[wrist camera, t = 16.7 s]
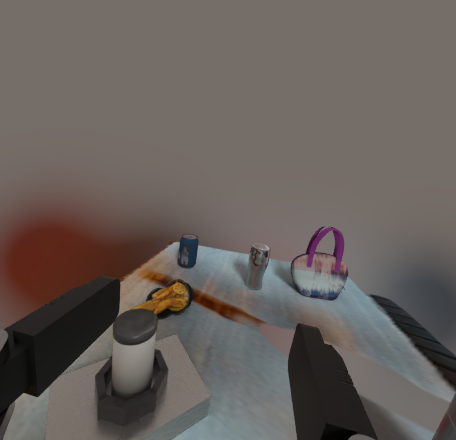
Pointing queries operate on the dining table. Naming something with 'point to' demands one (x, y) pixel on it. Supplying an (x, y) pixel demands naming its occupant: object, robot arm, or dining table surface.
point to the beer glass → (257, 265)
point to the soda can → (188, 250)
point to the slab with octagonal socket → (129, 401)
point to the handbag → (320, 269)
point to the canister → (133, 353)
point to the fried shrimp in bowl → (169, 299)
